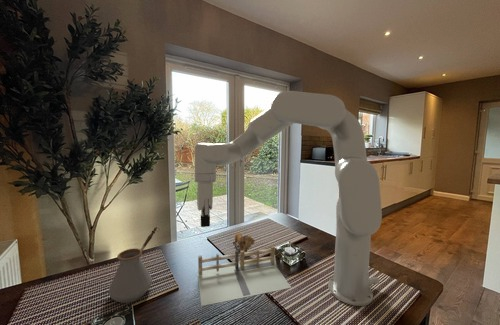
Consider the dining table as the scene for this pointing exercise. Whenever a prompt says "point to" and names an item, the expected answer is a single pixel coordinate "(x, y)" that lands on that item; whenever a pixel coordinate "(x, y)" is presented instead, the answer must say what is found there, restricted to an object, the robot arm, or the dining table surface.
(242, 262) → the fixed fence
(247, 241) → the lion figurine
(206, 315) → the dining table surface
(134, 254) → the coffee pot
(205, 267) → the fence panel
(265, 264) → the card
